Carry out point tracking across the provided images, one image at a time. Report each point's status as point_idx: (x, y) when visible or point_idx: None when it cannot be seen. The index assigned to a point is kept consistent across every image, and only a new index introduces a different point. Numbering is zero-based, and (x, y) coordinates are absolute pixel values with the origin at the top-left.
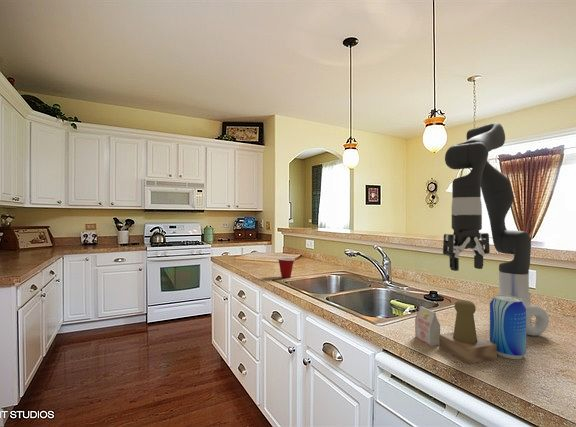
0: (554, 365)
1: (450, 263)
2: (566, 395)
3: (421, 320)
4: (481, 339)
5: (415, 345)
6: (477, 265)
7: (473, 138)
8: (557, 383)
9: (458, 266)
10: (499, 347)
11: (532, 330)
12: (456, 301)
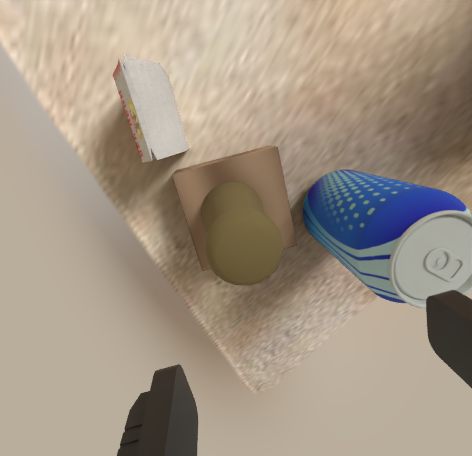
0: None
1: (124, 452)
2: (308, 350)
3: (126, 110)
4: (279, 213)
5: (110, 153)
6: (449, 338)
7: None
8: (327, 319)
9: (195, 449)
10: (309, 229)
11: None
12: (217, 237)
